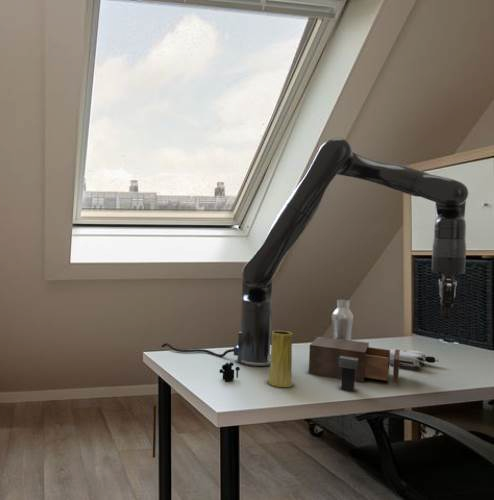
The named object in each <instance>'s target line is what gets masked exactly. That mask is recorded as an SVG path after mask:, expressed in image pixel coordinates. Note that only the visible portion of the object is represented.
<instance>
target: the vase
mask: <svg viewBox="0 0 494 500" xmlns="http://www.w3.org/2000/svg"><path fill="white" fill-rule="evenodd" d="M292 347H293V333H292V332H291V331H287V330H271V341H270V355H271V359H270V365H269V378H268V384H269V385H271V386H273V387H277V388H290V387H292V386H293V381H292V380H293V379H292V378H293V376H292V372H293V371H292V363H293V361H292V359H293V358H292V357H293V355H292V354H293V353H292V352H293V351H292V349H293V348H292Z"/></svg>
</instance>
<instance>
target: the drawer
mask: <svg viewBox="0 0 494 500" xmlns="http://www.w3.org/2000/svg"><path fill="white" fill-rule="evenodd" d="M390 350H391V349H387V348H380V347H379V348H377V347H372V346H369V347H368V348H367V351H366V353H365V370H364V377H365V378H367V379H373V380H381V381H386V382H387V381H388V380H389V374H390V364H391V362H390ZM394 350H395V354H394V364H393V368H392V369H393V370H392V371H393V372H392V384H396V385H398V384H399V375H400V368H402V369H403V368H404V369H411V370H413V371H415V372H419V371H420V370H421V368H420V367H421V365H420V364H419V362H418V361H414V362H411V361H404V360H399V358H400V351H401V350H400V349H394ZM399 362H401V363H408V364H413V366H406V365H404V364H401V363H400V364H399Z"/></svg>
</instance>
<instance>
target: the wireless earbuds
mask: <svg viewBox="0 0 494 500" xmlns="http://www.w3.org/2000/svg"><path fill="white" fill-rule="evenodd" d="M233 366H234V363H233V361H231V362H226V363H225V364H223V365H222V366H221V368H220V369H219V373H220V374H222V381H225V382H230V381H233V380H235V376H236V378H237V379H238V378H239V371H240V370H241V368H240V367H239V366H236V367H235V369H233ZM235 371H236V375H235Z"/></svg>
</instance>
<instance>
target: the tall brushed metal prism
mask: <svg viewBox="0 0 494 500" xmlns="http://www.w3.org/2000/svg"><path fill="white" fill-rule="evenodd" d="M358 360H359V358H353V357H345V356H340V358H339V367H342V379H340V380H341V381H340V383H341V384H340V390H341V391H348V392H351V393H353V392H355V387H356V385H355V384H356V381H355V369H358Z"/></svg>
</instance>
